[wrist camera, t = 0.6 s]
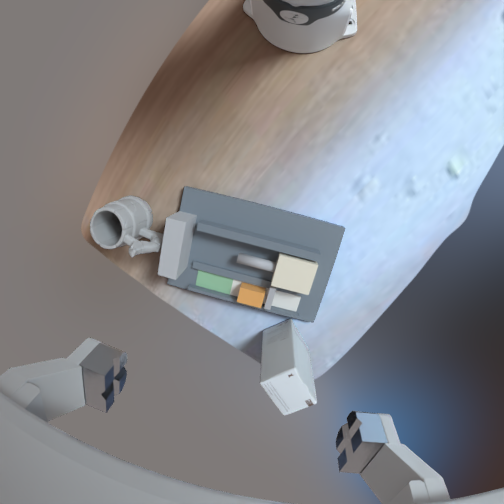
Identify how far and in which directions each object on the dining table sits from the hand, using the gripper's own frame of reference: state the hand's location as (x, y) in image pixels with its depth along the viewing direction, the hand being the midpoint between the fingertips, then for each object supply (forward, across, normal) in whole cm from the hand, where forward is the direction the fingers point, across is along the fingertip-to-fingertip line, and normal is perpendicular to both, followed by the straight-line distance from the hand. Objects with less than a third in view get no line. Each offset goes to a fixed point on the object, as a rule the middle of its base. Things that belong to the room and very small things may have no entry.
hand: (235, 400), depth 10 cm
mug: (+42, +21, +7) cm, 47 cm away
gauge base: (+42, +2, +8) cm, 43 cm away
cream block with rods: (+40, -2, +10) cm, 42 cm away
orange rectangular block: (+40, 0, +13) cm, 43 cm away
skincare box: (+42, -8, +21) cm, 48 cm away
